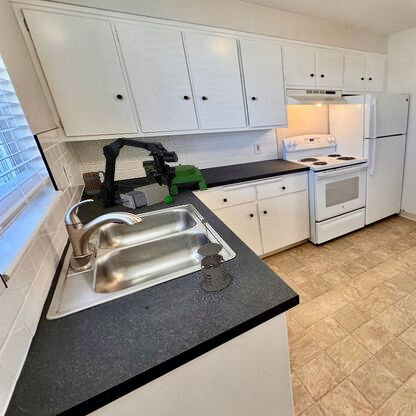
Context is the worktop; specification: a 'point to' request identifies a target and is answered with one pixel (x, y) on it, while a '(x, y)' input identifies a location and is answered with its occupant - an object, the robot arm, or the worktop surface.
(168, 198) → the polyhedron
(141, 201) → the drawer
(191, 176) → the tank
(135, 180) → the worktop surface
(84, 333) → the worktop surface
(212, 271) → the french press
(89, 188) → the mug
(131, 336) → the worktop surface
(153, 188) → the grey box
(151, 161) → the coffee jar
